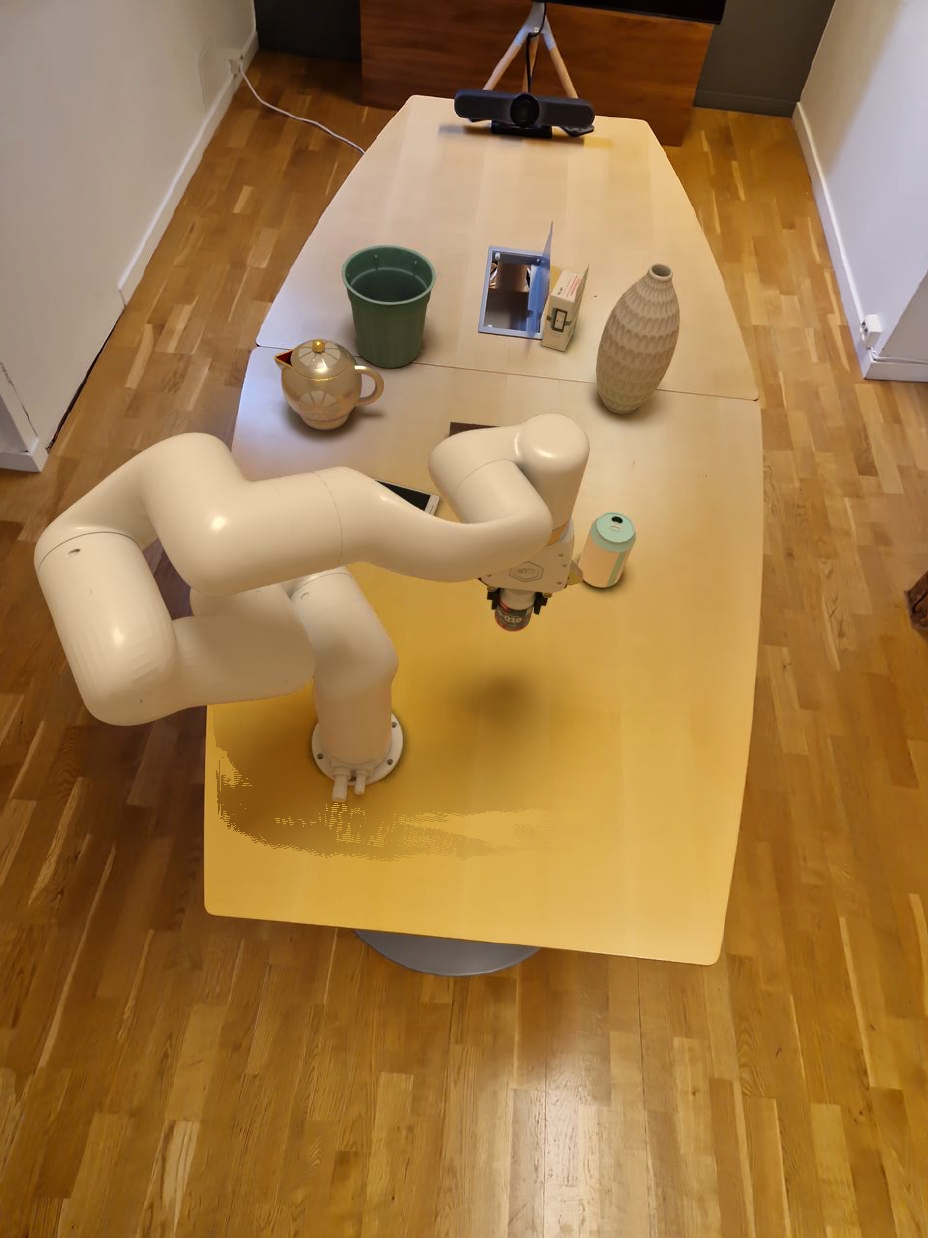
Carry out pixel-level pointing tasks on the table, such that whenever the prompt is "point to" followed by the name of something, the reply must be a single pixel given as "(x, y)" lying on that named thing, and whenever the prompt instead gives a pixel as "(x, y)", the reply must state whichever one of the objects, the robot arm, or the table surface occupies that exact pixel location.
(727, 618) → the table surface
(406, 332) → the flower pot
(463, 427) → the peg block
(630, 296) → the vase
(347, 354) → the teapot
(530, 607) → the pill bottle
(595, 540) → the can
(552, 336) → the ink box
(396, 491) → the smartphone
